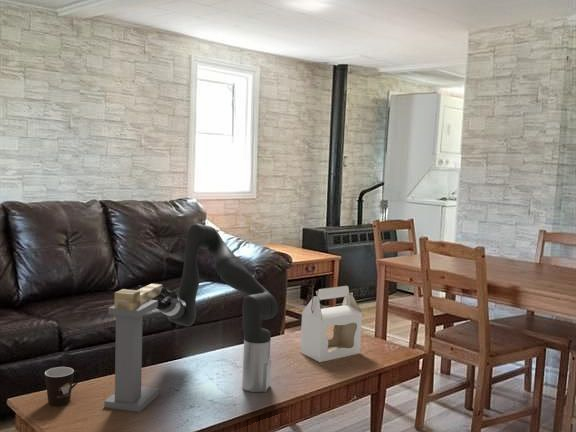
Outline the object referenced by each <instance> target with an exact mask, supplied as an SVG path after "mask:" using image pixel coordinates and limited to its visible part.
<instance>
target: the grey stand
mask: <svg viewBox="0 0 576 432" xmlns="http://www.w3.org/2000/svg"><path fill="white" fill-rule="evenodd" d="M156 307H158V300H148V301H146V302H144V303H142V304H140V307H138V308H136V309H134V310H124V309H114V305H111V306H110V307H108V309H107V310H108V315H112V316H113V315H114V316H115V358H114V360H115V361H114V364H115V365H114V368H115V369H114V372H115V373H114V393H113V394H112V395H110V396H109V397H107V398H106V399H105V400H104V401H103V402H104V404H103V405H104V406H103V408H106V409H107V408H108V409H114V410H123V411H129V412H136V413H141V411H143V410H144V409H145V408H146V407H147V406H148V405H149V404H151V402H153V400H155V399H156V398H157V397H158V396H159V395H160V388H154V387H147V386H142V368H143V365H142V364H143V362H142V361H143V315H146V314H147V313H149V312H151V311H152V310H154V309H157V308H156Z"/></svg>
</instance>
